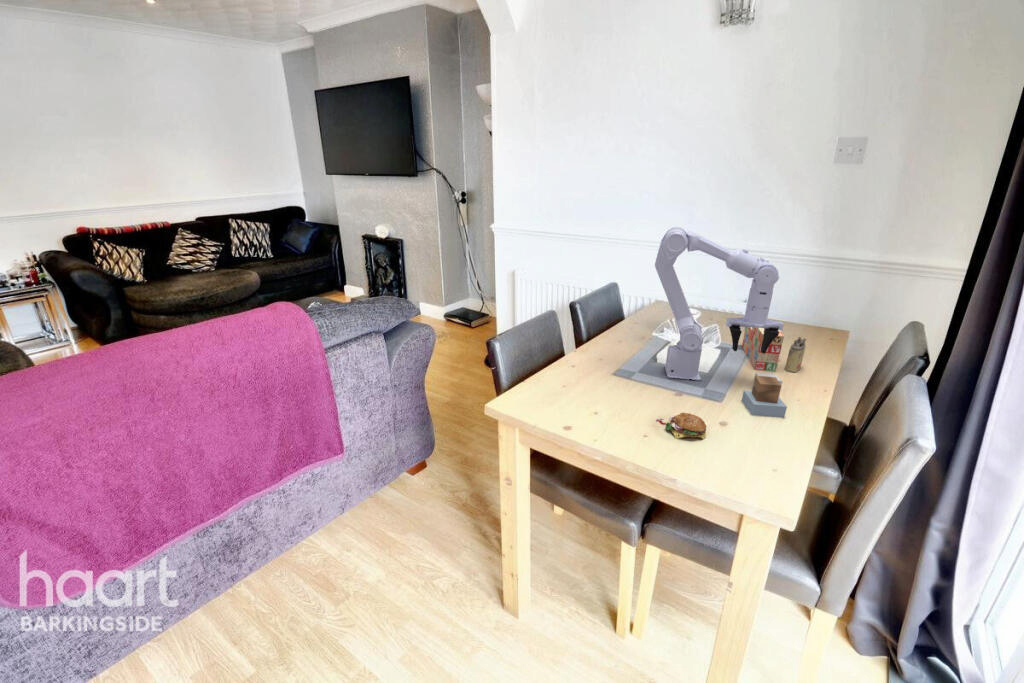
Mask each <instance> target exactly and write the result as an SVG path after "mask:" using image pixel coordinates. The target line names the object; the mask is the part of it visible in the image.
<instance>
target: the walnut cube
mask: <svg viewBox="0 0 1024 683" xmlns="http://www.w3.org/2000/svg"><path fill="white" fill-rule="evenodd" d="M754 377H755V379H753V382H754V384H752V386H753V389H752V388H751V391H752V394H753V396H754V398H755V400H756V401H761V402H770V403H777V402H778V398H780V393H781V390H782V389H781V388H782V385H781V384H780V383H779V381H778V380H777V378H776V377H766V376H756V375H755V374H754Z"/></svg>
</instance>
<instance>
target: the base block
mask: <svg viewBox="0 0 1024 683" xmlns="http://www.w3.org/2000/svg"><path fill="white" fill-rule="evenodd" d="M741 396H742V397H741V402H742V403H743V405H744V406H745V408H746V409H747V411H748V412H749V414H750V415H751V416H758V417H759V416H761V417H774V418H785V417H786V412H787V409H788V406H787V404H785V403H784V401H782V399H781V398H780V397H779V398H778V402H777V403H770V402H761V401H756V400H755V398H754V396H753V394H752V390H743V392H742V395H741Z"/></svg>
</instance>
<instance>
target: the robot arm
mask: <svg viewBox="0 0 1024 683" xmlns="http://www.w3.org/2000/svg"><path fill="white" fill-rule="evenodd" d="M686 249H687V252H688V253H690V252H695V251H700V252H702V253H705V254H707V255H709V256H712V257H714V258H717V259H719V260H720V261H723V262H725V266H726V269H729V270H731V271H733V272H735V273H737V274H739V275H741V276H743V277H745V278H748V279H752V281H751V285H750V289H749V293H748V297H747V302H746V308H745V312H744V317H726V321H725V325H726V326H727V327H728V328H729V332H730V335H731V340H732V341H731V342H732V343H731V344H732V350H733V352H737V351H738V347H739V342H740V338H741V335H742V330H741V327H742V328H745V327H753V328H764V336H763V342H762V346H761V352H762V353H763V354H765V353H766V351H767V349H768V347H769V345H770V344H771V342H772V341H773V340H774V339H775V338H776V337H777V336H778V335H779V331H778V330H780V331H783V329H784V325H785V324H784V323H783V322H782V321H776V320H771V319H768V316H769V312H770V307H771V304H772V299H773V298H772V297H773V293H774V287H775V284H776V283H777V282H778V280H780V276H779V270H778V269H777V268H776V267H775V265H774V264H773V263H772V262H770V261H769V260H766V259H765V258H764V257H760V258H759V257H757V256H754V255H753V254H752V253H751V254H750V253H749V250H748V249H745V248H743V249H740V248H737V249H734V250H730V249H728V248H726V247H724V246H722V245H721V244H718V243H717V242H715V241H713V240H711V239H709V238H706V237H705V236H703V235H700V234H698V233H696V232H693V231H690V230H686V231H685V230H684V228H682V227H679V226H677V227H675V226H674V227H671V228H669V229H668V230H667V231H666V232H665V234H664V236H662V239H661V241H660V243H659V248H658V251H657V254H656V257H655V258H656V259H655V262H654V267H655V270H656V273H657V275H658V278H659V280H660V281H659V282H660V283H661V285H662V288H663V290H664V293H665V296H666V298H667V301H668V303H669V306H670V309H671V311H672V314H673V316H674V318H675V321H676V325H677V329H678V332H679V340H678V342H676V344H675V345H673V344H672V345H668V348H667V352H666V359H665V366H664V369H665V374H666V377H667V378H669V379H671V378H672V379H678V378H679V380H689V379H692V381H701V380H702V379H701V375H700V374H699V369H700V368H699V367H700V362H701V356H702V350H703V344H704V343H703V342H704V337H703V335H702V334H703V332H702V331H703V330H702V327H701V325H700V324H699V323H698V322H697V321H696V320H695V318H694V316H693V314H692V312H691V309H690V306H689V304H688V301H687V299H686V297H685V294H684V291H683V289H682V286H681V283H680V280H679V278H678V275H677V273H676V271H675V267H674V265H675V263H676V260H677V259H678V257H679V256H680V255H682V253H684V252H685V250H686Z"/></svg>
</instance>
